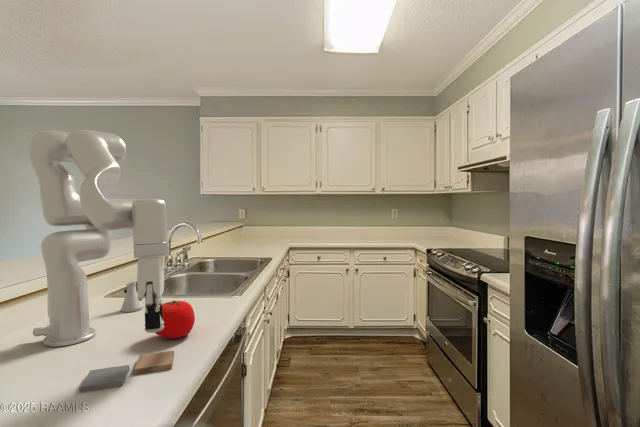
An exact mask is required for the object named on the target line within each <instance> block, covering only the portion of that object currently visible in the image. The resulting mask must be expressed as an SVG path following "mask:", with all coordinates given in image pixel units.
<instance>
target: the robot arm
mask: <svg viewBox="0 0 640 427" xmlns="http://www.w3.org/2000/svg"><path fill="white" fill-rule="evenodd" d="M27 150H28V152H27V153H28V157H29V160H30V163H31V166H32V169H33V170H34V172H35V174H36V178H37V180H38V185H39V194H40V195H39V196H40V200H41V201H40V202H41V208H42V214H43V219H44V220H45V222H46V224H48V226H51V227H76V226H84V227H85V229H70V230H60V231H56V232H52V233H49V234H47V235H46V236H44V237H43V239H42V241H41V243H40V251H41V255H42V259H43V262H44V266H45V267H44V268H45V273H46V285H47V286H46V287H47V300H48V303H47V304H48V319H49V320H48V322H49V325H46V326H44V327H40V326H39V327H34V328H33V330H32V335H33V336H34V337H41V336H43V337H44V338H43V339H42V340H43V341H42V342H43V343H42V344H43V345H44V346H46V347H66V346H71V345H76V344H79V343H83V342H84V341H88V340H90V339H91V338H93V337H94V336H95V335H96V334H97V331H96V329H95V328H94V327H90V313H89V311H90V310H89V309H90V307H89V289H88V287H89V286H88V277H87V274H86V272H85V270H83V269H82V268H81V266H80V265H79V264H78V263H82V262H87V261H93V260H94V261H95V260H99V259H103V258H106V257H107V256H108V255H109V254H110V253H111V252H110V251H111V248H112V238H111V232H110V231H119V230H132V240H133V241H132V242H133V245H132V246H133V258H134V259H137V275H136V276H137V278H136V285H137V286H136V287H137V288H136V291H137V299H138V300H139V301H141V302H142V300H144V329H146V330H150V329H158V328H160V316H161V318H162V320H163V311H162V305H161V304H163V303H162V296H163V293H164V289H165V264H164V257H166V256H167V257H168V256H169V240H168V239H169V237H168V236H169V235H168V234H169V233H168V215H167V214H168V212H167V211H168V210H167V204H166V201H165V200H163V199H160V198H143V199H142V198H105V196H104V195H103V193H102V192H101V190H103V189H105V188H107V187H109V186H111V185H113V184H115V183H116V182H117V181H118V180H119V179H120V177H121V175H122V168H121V166H120V165H119V163H121V162H123V161H124V159H125V158H126V155H127V146H126V144H125V141H124V140H123V139H122V138H121V137H120V136H119V135H117V134H115V133H109V132H105V131H104V132H103V131H98V130H92V129H76V130H74V131H71V132H67V131H59V130H48V129H47V130H46V129H45V130H40V131H35V132H34V133H33V134H32V135H31V137H30V138H29V141H28V148H27ZM62 163H75V164H76V166H77V167H78V169H79V170H80V172H81V174H82V175H83V176H84V179H83V181H82V183H81V185H80V189H79V193H78V191H77V189H76V181H75V178H74V177H73V175H72V173H71V172H70V171H69V170H68V169H67V168H66V166H64V165H63V164H62ZM153 296H155V299H153ZM158 299H160V300H161V301H160V302H159V306H160V307H159V311H158ZM153 301H155V303H153Z"/></svg>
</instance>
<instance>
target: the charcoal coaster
mask: <svg viewBox="0 0 640 427" xmlns="http://www.w3.org/2000/svg"><path fill="white" fill-rule="evenodd" d="M130 370H131V369H130V364H126V365H119V366H111V367H105V368H97V369H91V370H89V372H88V373H87V375H86V376H85V378H84V379H83V381H82V382H81V384H80V385H79V387H78V394H81V393H83V394H84V393H89V392H95V391H101V390H107V389H114V388H119V387H120V388H121V387H123V385H124V383H125V381H126V379H127V377H128V374H129V372H130Z"/></svg>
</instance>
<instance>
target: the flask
mask: <svg viewBox="0 0 640 427" xmlns="http://www.w3.org/2000/svg"><path fill="white" fill-rule="evenodd" d="M125 285H126V294H125V297H124V300H123V304H122V305H121V308H120V312H123V313H131V312H132V313H133V312H137V311H140V310H142V309H143V308H144V306H143V305H144V304H143V303H142V300H141V301H139V300H138V299H137V288H136V287H137V286H136V285H137V281H131V282H127V283H126V284H125Z"/></svg>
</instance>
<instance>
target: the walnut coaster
mask: <svg viewBox="0 0 640 427" xmlns="http://www.w3.org/2000/svg"><path fill="white" fill-rule="evenodd" d="M174 360H175V350H168V351H161V352H152V353H145V354H139V357H138V358H137V361H136V364H135V367H134V369H133V373H134V375H140V374H147V373H151V372H152V373H154V372H160V371H165V370H171V369H173V366H174V365H173V364H174Z"/></svg>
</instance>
